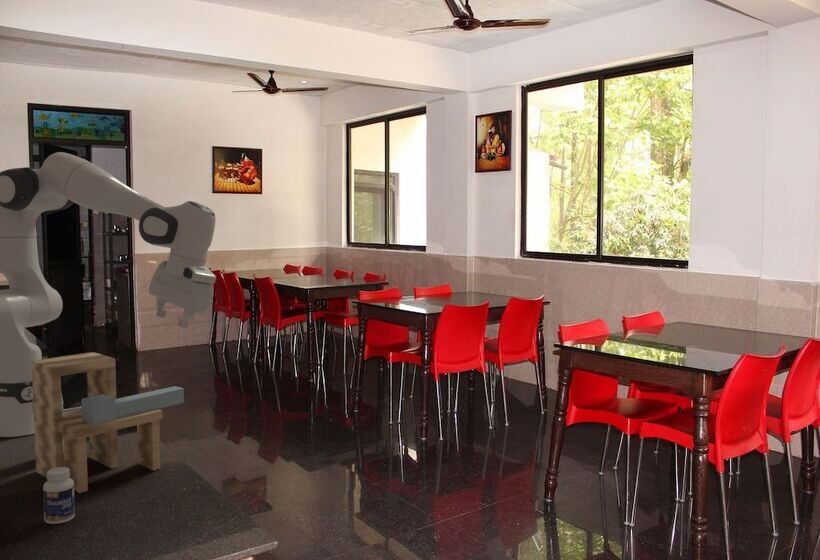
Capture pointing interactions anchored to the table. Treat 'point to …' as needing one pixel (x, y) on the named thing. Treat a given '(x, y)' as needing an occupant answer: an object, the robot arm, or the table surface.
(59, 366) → the tall stand
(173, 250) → the robot arm
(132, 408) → the rail
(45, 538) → the table surface
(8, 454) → the table surface
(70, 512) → the pill bottle
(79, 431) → the bench
